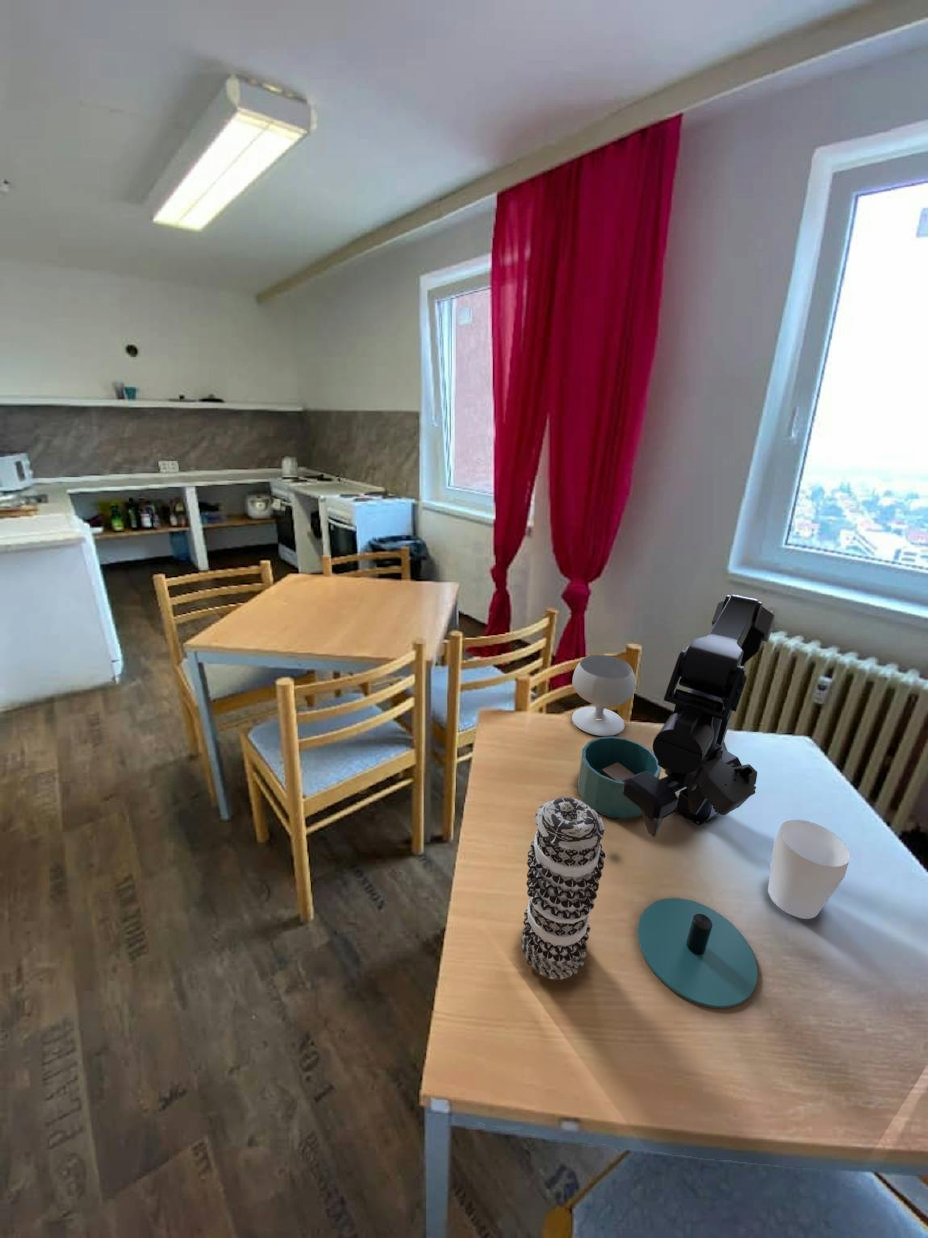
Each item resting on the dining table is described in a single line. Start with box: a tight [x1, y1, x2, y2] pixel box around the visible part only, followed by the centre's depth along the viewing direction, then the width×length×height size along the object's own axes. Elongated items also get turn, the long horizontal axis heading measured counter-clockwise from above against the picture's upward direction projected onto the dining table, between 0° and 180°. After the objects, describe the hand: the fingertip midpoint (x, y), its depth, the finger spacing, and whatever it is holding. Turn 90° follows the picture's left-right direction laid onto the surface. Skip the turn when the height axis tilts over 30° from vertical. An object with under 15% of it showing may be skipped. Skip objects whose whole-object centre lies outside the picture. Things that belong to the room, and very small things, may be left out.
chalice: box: [571, 654, 636, 737], centre depth 120 cm, size 14×14×15 cm
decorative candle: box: [521, 796, 606, 981], centre depth 66 cm, size 9×9×25 cm
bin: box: [577, 735, 662, 820], centre depth 99 cm, size 14×14×8 cm
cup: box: [767, 819, 851, 920], centre depth 77 cm, size 9×9×12 cm
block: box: [601, 762, 635, 782], centre depth 100 cm, size 4×4×4 cm
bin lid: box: [637, 897, 759, 1009], centre depth 70 cm, size 15×15×6 cm
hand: (673, 823), depth 77 cm, fingers open, 9 cm apart
